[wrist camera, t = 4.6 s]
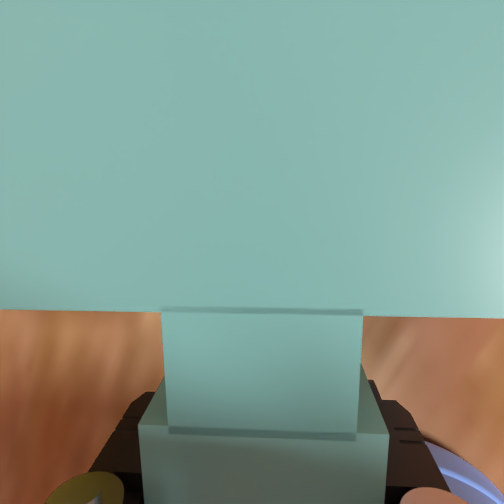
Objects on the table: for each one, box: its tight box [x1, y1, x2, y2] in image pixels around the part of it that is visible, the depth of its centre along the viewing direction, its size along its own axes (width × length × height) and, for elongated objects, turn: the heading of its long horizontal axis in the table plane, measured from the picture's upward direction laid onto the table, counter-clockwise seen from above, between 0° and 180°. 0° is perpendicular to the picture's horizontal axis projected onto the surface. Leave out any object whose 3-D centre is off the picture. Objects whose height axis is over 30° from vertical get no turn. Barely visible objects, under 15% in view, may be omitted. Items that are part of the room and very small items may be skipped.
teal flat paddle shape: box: [0, 0, 504, 504], centre depth 7 cm, size 19×11×3 cm, turn 1°
